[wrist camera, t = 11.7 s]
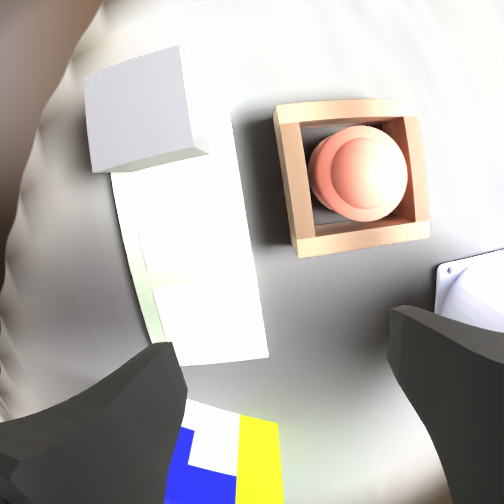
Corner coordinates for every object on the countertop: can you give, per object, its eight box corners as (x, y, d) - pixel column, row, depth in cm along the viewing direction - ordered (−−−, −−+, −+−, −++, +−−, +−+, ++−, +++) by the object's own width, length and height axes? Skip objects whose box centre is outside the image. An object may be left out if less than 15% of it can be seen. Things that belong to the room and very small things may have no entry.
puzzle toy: (161, 389, 22) (125, 485, 13) (277, 422, 23) (285, 521, 13) (145, 452, 24) (119, 529, 15) (239, 478, 25) (235, 557, 16)
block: (197, 77, 16) (179, 45, 11) (210, 154, 17) (194, 146, 12) (121, 97, 16) (83, 77, 11) (131, 172, 17) (92, 172, 13)
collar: (392, 109, 17) (414, 99, 14) (406, 227, 19) (429, 237, 16) (272, 117, 17) (276, 105, 14) (291, 245, 19) (298, 258, 16)
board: (220, 58, 16) (219, 54, 16) (268, 352, 21) (268, 357, 20) (104, 89, 17) (100, 87, 16) (162, 362, 21) (159, 367, 21)
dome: (378, 130, 17) (411, 120, 13) (387, 208, 18) (422, 219, 14) (301, 136, 17) (316, 124, 13) (313, 218, 18) (331, 232, 14)
